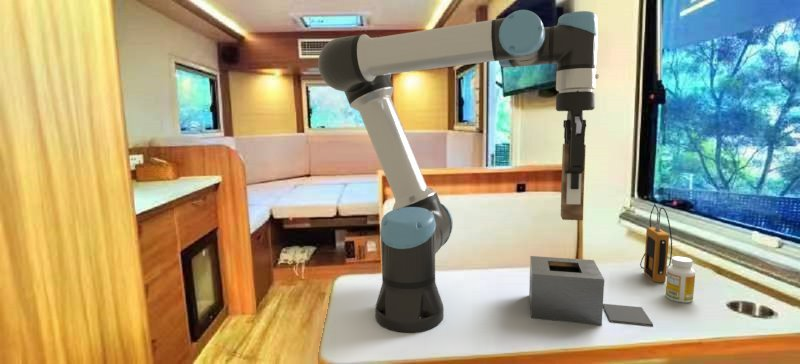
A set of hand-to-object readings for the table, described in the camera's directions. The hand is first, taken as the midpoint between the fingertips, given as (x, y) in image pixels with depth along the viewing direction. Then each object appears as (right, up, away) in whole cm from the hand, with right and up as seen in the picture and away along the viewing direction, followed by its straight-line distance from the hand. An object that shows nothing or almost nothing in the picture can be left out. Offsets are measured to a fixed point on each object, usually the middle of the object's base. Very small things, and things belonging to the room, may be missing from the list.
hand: (571, 201), depth 89 cm
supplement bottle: (+29, -23, +8) cm, 38 cm away
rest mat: (+12, -25, 0) cm, 28 cm away
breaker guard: (0, -24, +4) cm, 25 cm away
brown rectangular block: (0, -4, +1) cm, 4 cm away
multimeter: (+34, -22, +20) cm, 45 cm away
